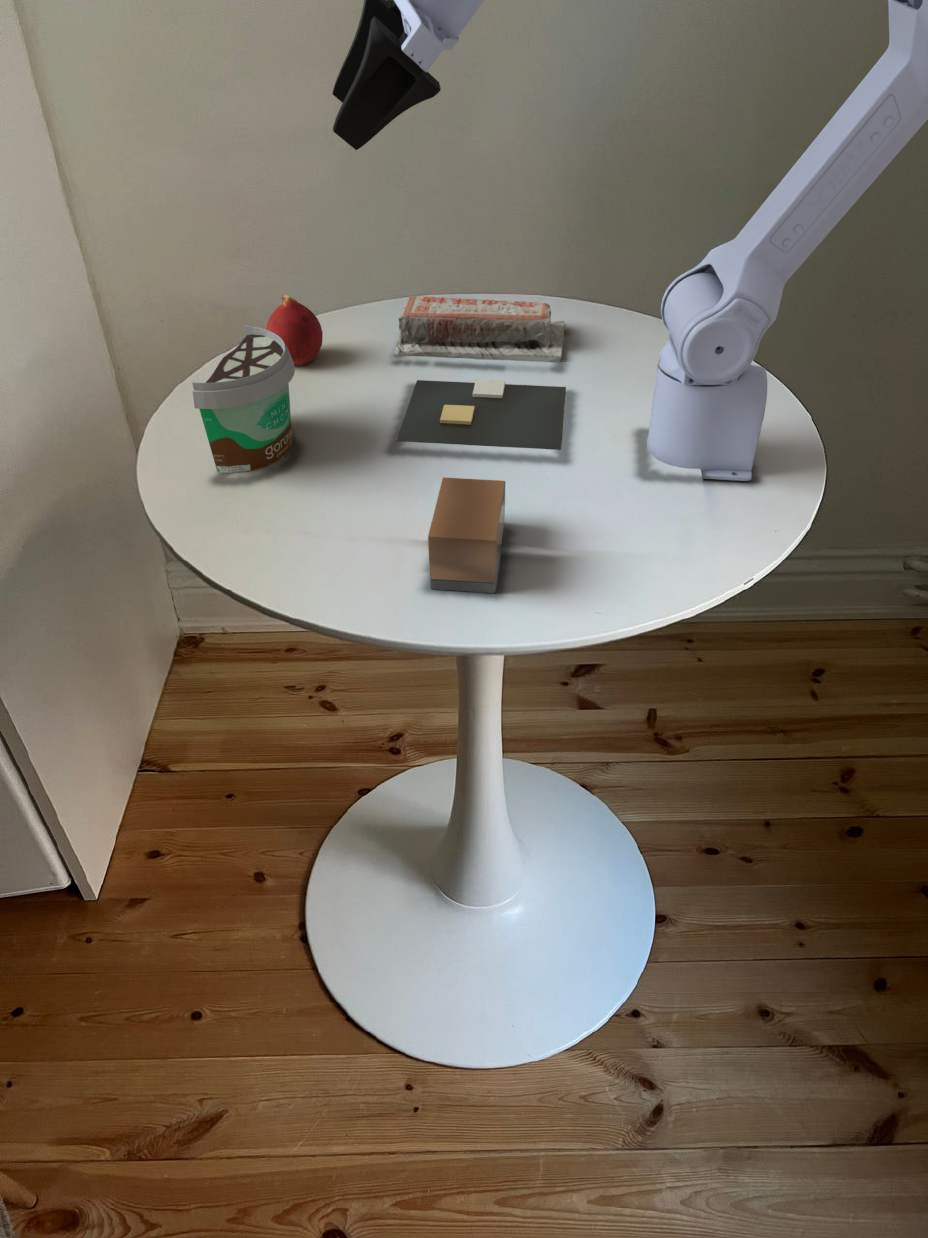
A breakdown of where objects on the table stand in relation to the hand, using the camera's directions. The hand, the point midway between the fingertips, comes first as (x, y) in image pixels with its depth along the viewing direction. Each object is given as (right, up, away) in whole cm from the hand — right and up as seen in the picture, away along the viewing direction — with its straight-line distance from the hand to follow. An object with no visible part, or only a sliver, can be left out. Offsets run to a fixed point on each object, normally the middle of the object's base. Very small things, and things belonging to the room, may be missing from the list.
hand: (344, 119), depth 66 cm
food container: (-9, -21, +19) cm, 30 cm away
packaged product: (+11, -6, +36) cm, 38 cm away
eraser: (+9, -31, +7) cm, 33 cm away
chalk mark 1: (+8, -16, +22) cm, 29 cm away
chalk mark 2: (+11, -13, +26) cm, 31 cm away
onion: (-9, -9, +33) cm, 35 cm away
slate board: (+11, -17, +24) cm, 31 cm away
